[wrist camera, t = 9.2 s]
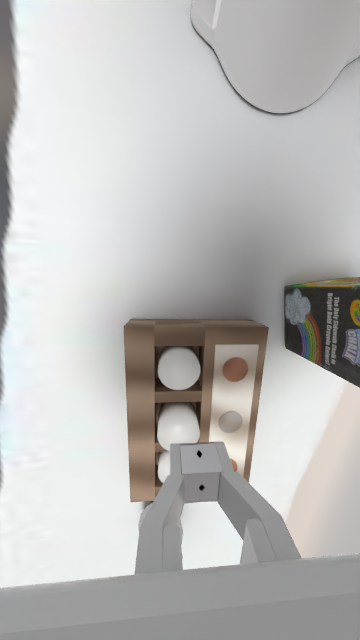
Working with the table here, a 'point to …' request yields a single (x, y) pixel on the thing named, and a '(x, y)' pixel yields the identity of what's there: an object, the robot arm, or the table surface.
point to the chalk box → (326, 325)
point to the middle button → (177, 424)
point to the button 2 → (178, 367)
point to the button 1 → (163, 465)
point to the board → (193, 390)
